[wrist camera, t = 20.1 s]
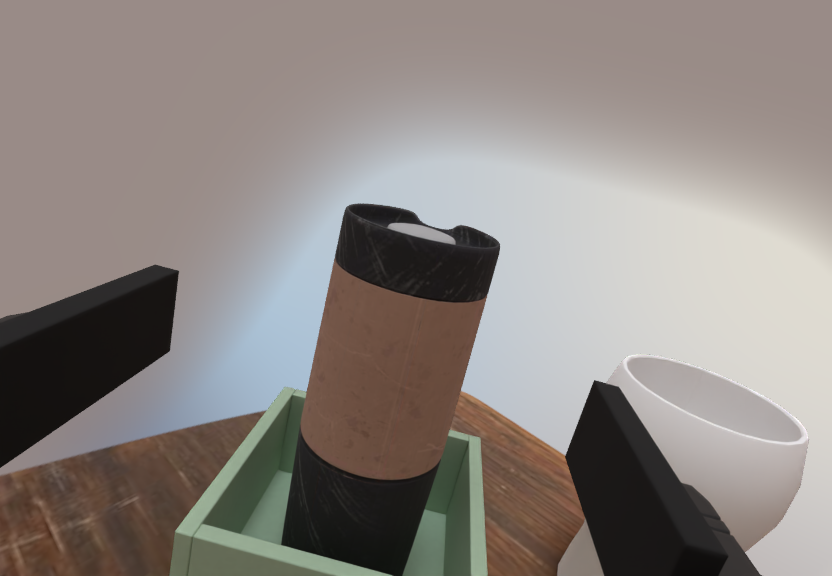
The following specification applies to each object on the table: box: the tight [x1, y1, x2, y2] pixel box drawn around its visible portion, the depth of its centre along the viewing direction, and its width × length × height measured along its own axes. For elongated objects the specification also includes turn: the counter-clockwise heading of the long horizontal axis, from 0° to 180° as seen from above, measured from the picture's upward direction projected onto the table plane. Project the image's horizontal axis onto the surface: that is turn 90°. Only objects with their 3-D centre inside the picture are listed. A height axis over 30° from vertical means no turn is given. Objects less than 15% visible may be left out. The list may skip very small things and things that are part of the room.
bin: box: [170, 387, 488, 576], centre depth 29 cm, size 14×14×7 cm
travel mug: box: [281, 204, 500, 576], centre depth 27 cm, size 8×8×20 cm
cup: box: [557, 354, 809, 576], centre depth 30 cm, size 11×11×15 cm
